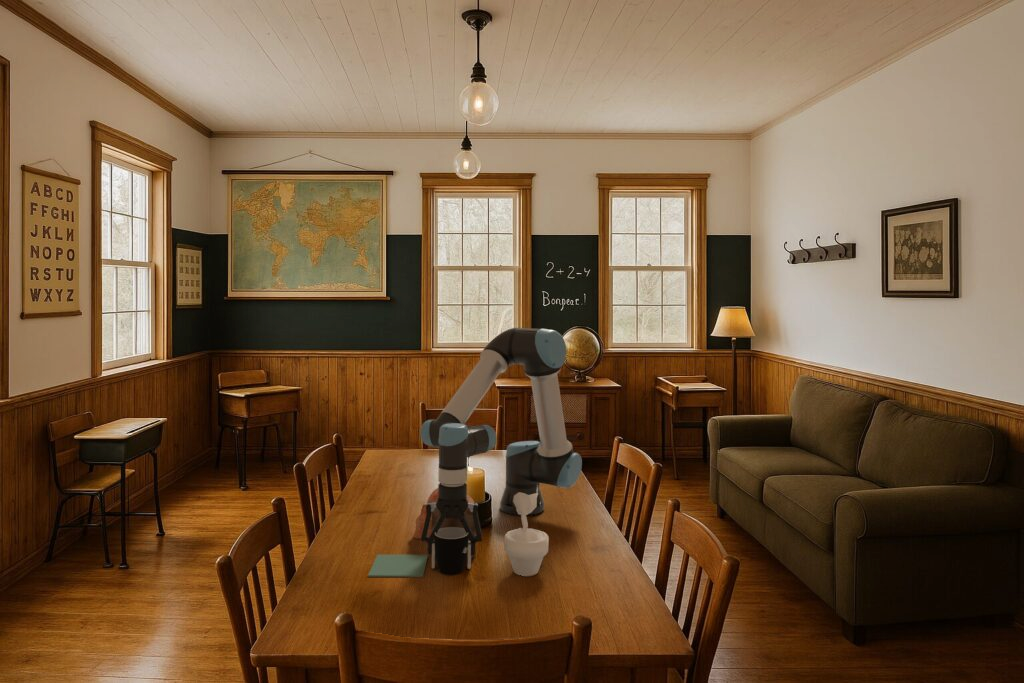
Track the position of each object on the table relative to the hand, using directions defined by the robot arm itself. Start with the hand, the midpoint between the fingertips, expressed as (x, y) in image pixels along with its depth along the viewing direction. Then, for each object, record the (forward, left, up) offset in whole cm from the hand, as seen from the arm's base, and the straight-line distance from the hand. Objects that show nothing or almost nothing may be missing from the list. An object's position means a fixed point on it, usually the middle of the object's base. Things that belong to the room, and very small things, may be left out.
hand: (451, 566), depth 177 cm
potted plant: (-20, +2, -1) cm, 20 cm away
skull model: (+3, -23, -1) cm, 23 cm away
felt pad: (+14, -1, 0) cm, 14 cm away
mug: (0, 0, -1) cm, 1 cm away
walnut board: (0, -10, 0) cm, 10 cm away
